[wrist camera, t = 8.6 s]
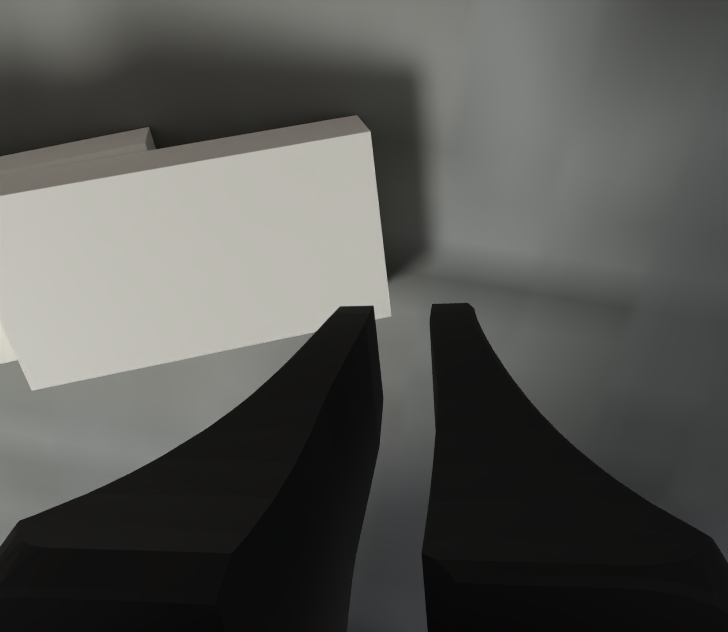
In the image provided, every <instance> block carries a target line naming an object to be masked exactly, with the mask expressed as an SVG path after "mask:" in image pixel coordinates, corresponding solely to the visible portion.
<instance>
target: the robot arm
mask: <svg viewBox="0 0 728 632" xmlns="http://www.w3.org/2000/svg"><path fill="white" fill-rule="evenodd" d="M430 338H431V356H432V374H433V392H434V410H435V428H436V435H435V447H434V458H433V469H432V478H431V488H430V497H429V505H428V513H427V520H426V527H425V535H424V541H423V548H422V563H423V576H424V589H425V601H426V614H427V627H428V632H728V562H727V561H726V559H725V557H724V556H723V554H722V553H721V551H720V549H719V548H718V546H717V545H716V543H715V541H714V540H713V539H712V538H711V537H710V536H708V535H706V534H704V533H703V532H701V531H699V530H697V529H696V528H694V527H692V526H690V525H689V524H687V523H685V522H683V521H682V520H680V519H678V518H676V517H675V516H673V515H671V514H669V513H668V512H666V511H664V510H662V509H661V508H659V507H657V506H655V505H654V504H652V503H650V502H649V501H647V500H645V499H644V498H642V497H641V496H639V495H638V494H636V493H635V492H633V491H632V490H631V489H629V488H628V487H626V486H625V485H623V484H622V483H620V482H619V481H617V480H616V479H614V478H613V477H612V476H610V475H609V474H608V473H606V472H605V471H604V470H603V469H601V468H600V467H599V466H598V465H596V464H595V463H594V462H593V461H591V460H590V459H589V458H588V457H586V456H585V455H584V454H583V453H581V452H580V451H579V450H578V449H576V448H575V447H574V446H573V445H572V444H571V443H570V442H569V441H568V440H567V439H566V438H565V437H564V436H563V435H562V434H560V433H559V432H558V431H557V430H556V429H555V428H554V427H553V426H552V424H551V423H550V422H549V421H548V420H547V419H546V418H545V417H544V416H543V415H542V414H541V413H540V412H539V411H538V410H537V408H536V407H535V406H534V405H533V404H532V403H531V401H530V400H529V399H528V398H527V397H526V395H525V394H524V393H523V392H522V390H521V389H520V388H519V387H518V385H517V384H516V383H515V381H514V380H513V379H512V377H511V376H510V375H509V373H508V372H507V370H506V369H505V367H504V366H503V364H502V363H501V361H500V360H499V358H498V357H497V355H496V354H495V352H494V350H493V349H492V347H491V345H490V344H489V342H488V340H487V338H486V336H485V334H484V333H483V331H482V329H481V326H480V324H479V322H478V320H477V317H476V314H475V310H474V308H473V307H472V306H471V305H469V304H468V303H450V304H432V308H431V315H430ZM382 409H383V390H382V381H381V371H380V361H379V352H378V342H377V332H376V323H375V313H374V305H373V306H340V307H339V308H338V309H337V310H336V311H335V312H334V313H333V314H332V315H331V316H330V317H329V318H328V319H327V320H326V321H325V322H324V324H323V325H322V326H321V327H320V328H319V329H318V330H317V331H316V332H315V333H314V334H313V336H312V337H311V338H310V339H309V340H308V341H307V342H306V343H305V344H304V345H303V346H302V347H301V348H300V349H299V350H298V351H297V352H296V353H295V355H294V356H293V357H292V358H291V359H290V360H289V361H288V362H287V363H286V364H285V365H284V366H283V367H282V368H281V369H280V370H278V371H277V372H276V373H275V374H274V375H273V376H272V377H271V378H270V379H269V380H267V381H266V382H265V383H264V384H263V385H262V386H261V387H260V388H259V389H258V390H257V391H255V392H254V393H253V394H252V395H251V396H249V397H248V398H247V399H246V400H245V401H243V402H242V403H241V404H240V405H238V406H237V407H236V408H234V409H233V410H232V411H230V412H229V413H228V414H226V415H225V416H224V417H222V418H221V419H219V420H218V421H217V422H215V423H214V424H213V425H211V426H210V427H208V428H207V429H205V430H204V431H202V432H200V433H199V434H197V435H196V436H194V437H192V438H191V439H189V440H187V441H186V442H184V443H183V444H181V445H179V446H178V447H176V448H174V449H173V450H171V451H170V452H168V453H166V454H165V455H163V456H161V457H160V458H158V459H156V460H154V461H152V462H151V463H149V464H147V465H145V466H143V467H141V468H139V469H137V470H135V471H134V472H132V473H130V474H128V475H126V476H124V477H121V478H119V479H117V480H115V481H113V482H111V483H109V484H107V485H105V486H103V487H101V488H99V489H96V490H94V491H92V492H90V493H88V494H85V495H83V496H80V497H78V498H75V499H73V500H70V501H68V502H66V503H63V504H61V505H58V506H56V507H53V508H51V509H48V510H46V511H44V512H41V513H39V514H36V515H34V516H31V517H28V518H26V519H23V520H20V521H19V522H18V523H17V524H16V526H15V527H14V528H13V530H12V531H11V532H10V534H9V535H8V537H7V538H6V539H5V541H4V542H3V544H2V545H1V546H0V632H346V630H347V621H348V612H349V603H350V594H351V585H352V576H353V570H354V564H355V558H356V552H357V548H358V543H359V538H360V534H361V529H362V525H363V520H364V515H365V511H366V506H367V502H368V497H369V493H370V488H371V483H372V479H373V474H374V469H375V465H376V460H377V455H378V450H379V445H380V434H381V422H382Z"/></svg>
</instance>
